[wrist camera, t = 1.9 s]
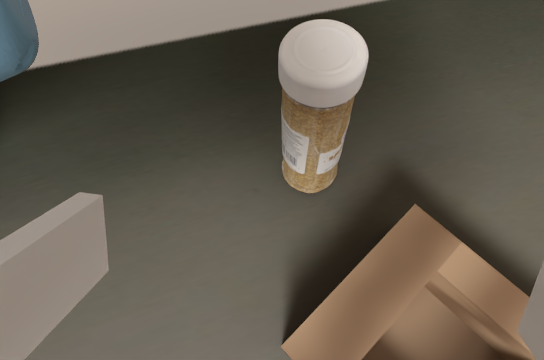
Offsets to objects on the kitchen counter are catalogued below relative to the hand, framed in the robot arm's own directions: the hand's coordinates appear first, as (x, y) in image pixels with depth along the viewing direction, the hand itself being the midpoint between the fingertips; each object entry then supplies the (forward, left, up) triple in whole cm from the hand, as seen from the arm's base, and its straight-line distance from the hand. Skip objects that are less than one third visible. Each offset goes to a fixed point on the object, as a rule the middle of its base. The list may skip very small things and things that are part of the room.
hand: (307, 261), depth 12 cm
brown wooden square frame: (+8, +4, -16) cm, 19 cm away
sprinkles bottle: (-7, +9, -17) cm, 20 cm away
